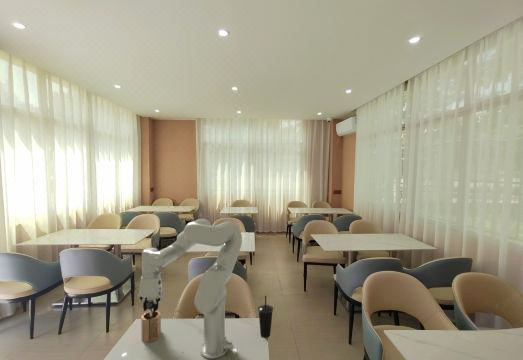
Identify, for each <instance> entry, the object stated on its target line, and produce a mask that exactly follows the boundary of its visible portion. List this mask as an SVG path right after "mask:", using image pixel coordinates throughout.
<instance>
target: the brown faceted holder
mask: <svg viewBox="0 0 523 360" xmlns="http://www.w3.org/2000/svg"><path fill="white" fill-rule="evenodd" d="M161 317H162V315H161V312H160V310H156V311H155V312H153V310H152V318H151V319H150V310H148V311H145V312H144V313H143V314H142V315H141V316H140V318H141V320H140V323H141V324H140V325H141V327H140V329H141V330H140V331H141V341H142V342H143V343H152V342H155V341H158V340H159V338H161V334H162V330H161V329H162V323H161V321H162V319H161Z"/></svg>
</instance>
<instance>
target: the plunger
mask: <svg viewBox="0 0 523 360" xmlns="http://www.w3.org/2000/svg"><path fill="white" fill-rule="evenodd" d="M147 300H148V299H147ZM153 304H154V300H153V298H151V299H149V300H148V301H147V302H146V308H147V310H149V311H150V319H151V318H152V311H153Z"/></svg>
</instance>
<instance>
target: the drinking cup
mask: <svg viewBox="0 0 523 360" xmlns="http://www.w3.org/2000/svg"><path fill="white" fill-rule="evenodd" d="M257 311H258V319H259V320H258V321H259V329H260V330H259V331H260V332H259V333H260V336H261V338H265V339H267V338H266V337H268V338H270V336H271V332H272V322H273V321H272V320H273V319H272V318H273V312H274V307H273V306H272V305H270V304H267V295H265V296H264V304H261V305H259V306H258V308H257Z"/></svg>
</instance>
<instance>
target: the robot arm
mask: <svg viewBox="0 0 523 360" xmlns="http://www.w3.org/2000/svg"><path fill="white" fill-rule="evenodd" d="M242 242H243V237H242V231H241V230H240V228H239V227H238V225H237V224H236V223H235V222H233V221H224V222H223V221H222V222H220V223H218V224H216V225H212V224H211V221H209V220H208V219H207V218H198V219H195V220H193V221H190V222H188V223H187V224H186V225H185V226H184V229H183V231H181V232H180V233H179V234H178V235H177V236H176V240H175V241H174V242H173V243H172V244H170V245H169V246H167V247H165V248H162V249H160V250H158V248H156V247H148V248H145V249H143V250H142V252H141V277H140V281H139V291H138V293H137V294H136V296H137V297H138V298H139V299H140V300H141V304H142V303H143V304H142V305H143V307H142V309H143V312H147V310H148V309H147V308H146V302H147V301H148V299H153V300H154V304H153V308H152V311H153V312H155V311H158V309H159V303H160V301H161V300H163V299H164V298H165V294H164V292H163V282H162V277H161V274H162V272H161V271H160V270H159V269H161V268H165V267H166V266H167V265H169V264H171V263H173V262H175V261H176V260H177V259H179V258H180V257H181V256H183V255H184V254H186V252H188V251H189V250H190V249H191V248H193V247H194V246H195V245H196V244H198V245H205V246H208V247H209V246H211V247H220V250H219V252H218V255H217V258H216V260H215V262H214V263H213V264H212V266H210V267H209V268H208V269H207V270H206V271H205V272H204V273H203V275H202V277H201V280H200V283H199V285H198V287H197V291H196V294H195V296H194V303H193V304H194V306H195V307H194V308H195V310H197V313H200V314H202V315H203V343H202V344H201V346H200V354H201V355H202V356H203V357H204V358H207V359H211V360H213V359H218V358H221V357H223V356H224V355H226V353H227V352H228V350H234V347H235V345H234V344H233V340H232V341H230V340H229V341H228V340H227V338H228V337H227V336H226V335H225V334H226V329H225V328H226V324H225V323H226V317H225V316H226V312H225V311H226V301H227V300H226V299H227V287H226V283H228V282H229V280H231V279H230V278H231V277H232V275H233V271H234V268H235V265H236V262H237V259H238V256H239V254H240V251H241V247H242Z"/></svg>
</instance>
